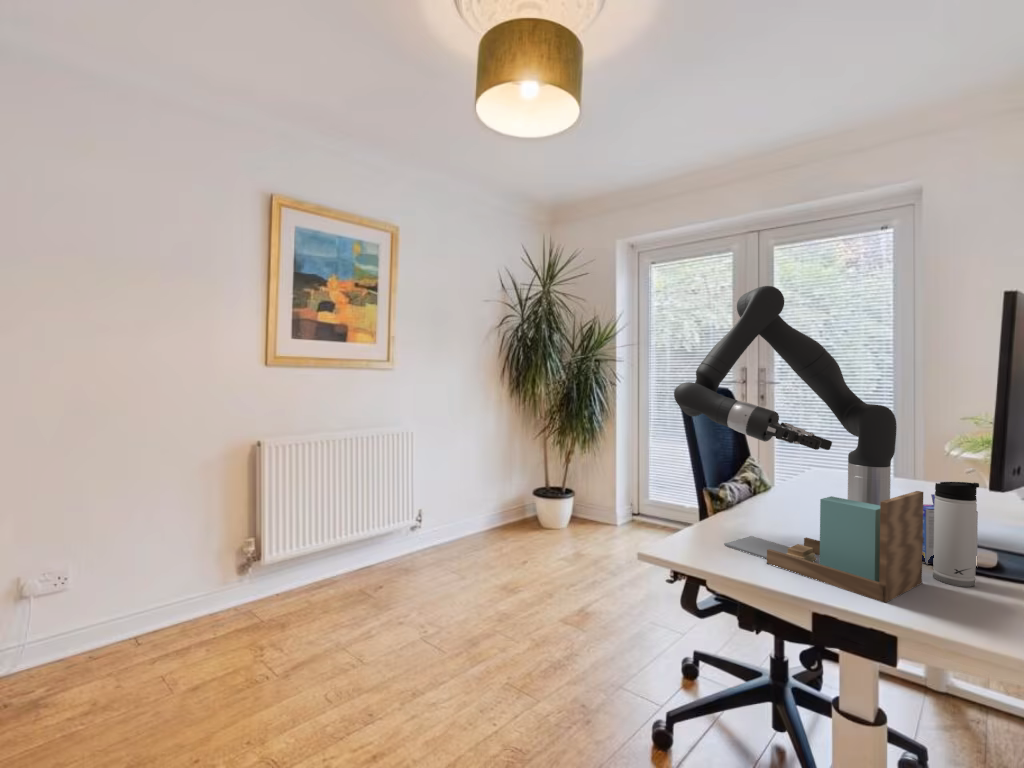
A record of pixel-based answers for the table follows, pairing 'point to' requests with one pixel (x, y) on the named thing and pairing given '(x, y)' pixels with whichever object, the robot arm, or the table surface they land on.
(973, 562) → the travel mug
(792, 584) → the table surface
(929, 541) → the ink cartridge box
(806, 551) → the offcut stack
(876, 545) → the teal panel
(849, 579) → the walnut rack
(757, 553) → the slate mat
